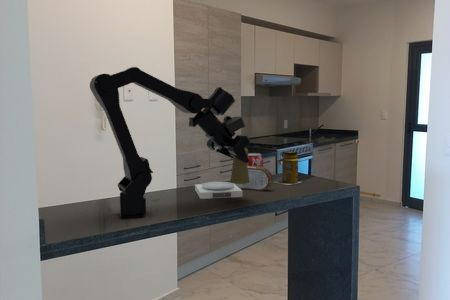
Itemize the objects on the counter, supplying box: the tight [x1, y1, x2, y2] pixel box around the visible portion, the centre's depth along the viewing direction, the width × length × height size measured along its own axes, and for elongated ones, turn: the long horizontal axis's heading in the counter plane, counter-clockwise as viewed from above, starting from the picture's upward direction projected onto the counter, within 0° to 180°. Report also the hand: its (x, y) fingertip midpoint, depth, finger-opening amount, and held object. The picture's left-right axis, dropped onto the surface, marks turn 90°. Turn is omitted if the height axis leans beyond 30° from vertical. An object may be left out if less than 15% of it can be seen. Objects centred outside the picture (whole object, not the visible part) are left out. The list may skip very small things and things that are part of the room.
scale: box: [194, 181, 243, 200], centre depth 140 cm, size 14×14×3 cm
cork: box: [229, 147, 249, 184], centre depth 129 cm, size 6×6×11 cm
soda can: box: [247, 152, 264, 167], centre depth 152 cm, size 7×7×12 cm
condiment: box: [275, 150, 302, 186], centre depth 159 cm, size 7×8×12 cm
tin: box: [234, 166, 274, 192], centre depth 147 cm, size 15×3×8 cm, turn 61°
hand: (243, 160), depth 129 cm, fingers closed on cork, 5 cm apart
